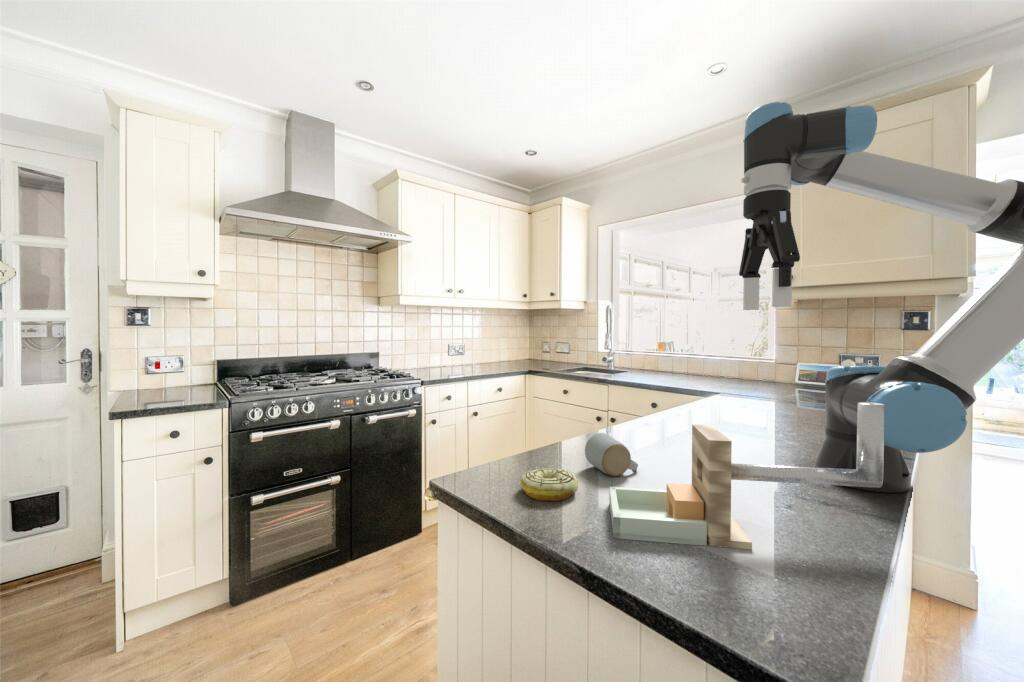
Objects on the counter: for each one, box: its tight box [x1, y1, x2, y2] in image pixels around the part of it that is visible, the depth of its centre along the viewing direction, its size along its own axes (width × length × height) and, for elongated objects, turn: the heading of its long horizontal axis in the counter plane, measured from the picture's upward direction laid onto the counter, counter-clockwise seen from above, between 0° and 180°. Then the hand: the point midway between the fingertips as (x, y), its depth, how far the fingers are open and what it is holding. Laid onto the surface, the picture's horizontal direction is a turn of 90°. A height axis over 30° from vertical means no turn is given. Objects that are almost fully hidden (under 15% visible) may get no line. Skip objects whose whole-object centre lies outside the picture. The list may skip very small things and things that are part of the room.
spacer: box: [666, 482, 704, 521], centre depth 66 cm, size 4×7×4 cm, turn 170°
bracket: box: [691, 424, 753, 550], centre depth 65 cm, size 6×12×15 cm, turn 170°
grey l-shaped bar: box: [731, 402, 885, 488], centre depth 63 cm, size 22×3×12 cm, turn 80°
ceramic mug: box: [584, 432, 639, 477], centre depth 91 cm, size 11×8×8 cm
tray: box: [608, 486, 708, 547], centre depth 67 cm, size 13×12×3 cm
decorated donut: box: [520, 467, 579, 502], centre depth 80 cm, size 10×11×4 cm
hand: (765, 308), depth 78 cm, fingers open, 13 cm apart
